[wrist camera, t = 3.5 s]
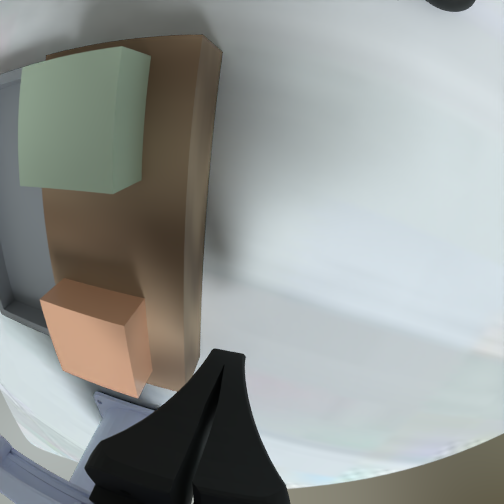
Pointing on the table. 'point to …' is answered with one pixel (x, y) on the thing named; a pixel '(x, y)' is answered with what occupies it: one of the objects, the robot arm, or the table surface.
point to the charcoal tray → (20, 223)
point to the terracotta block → (99, 335)
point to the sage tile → (83, 121)
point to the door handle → (452, 4)
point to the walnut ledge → (151, 206)
